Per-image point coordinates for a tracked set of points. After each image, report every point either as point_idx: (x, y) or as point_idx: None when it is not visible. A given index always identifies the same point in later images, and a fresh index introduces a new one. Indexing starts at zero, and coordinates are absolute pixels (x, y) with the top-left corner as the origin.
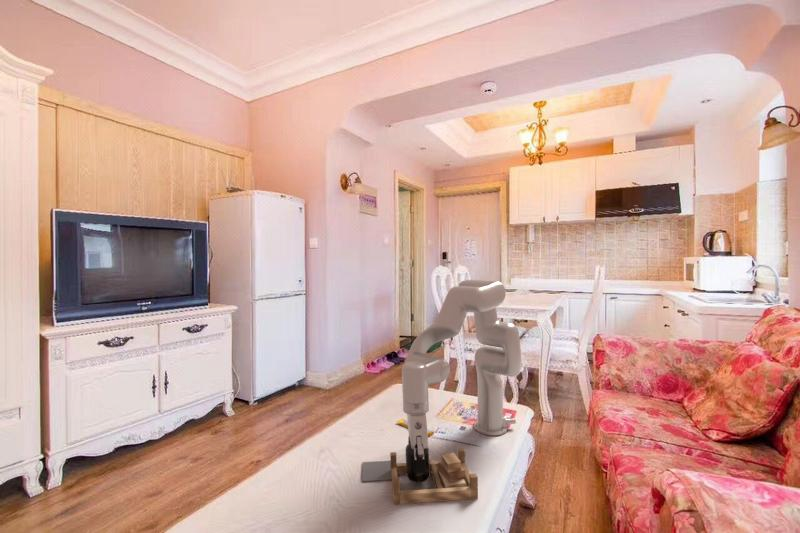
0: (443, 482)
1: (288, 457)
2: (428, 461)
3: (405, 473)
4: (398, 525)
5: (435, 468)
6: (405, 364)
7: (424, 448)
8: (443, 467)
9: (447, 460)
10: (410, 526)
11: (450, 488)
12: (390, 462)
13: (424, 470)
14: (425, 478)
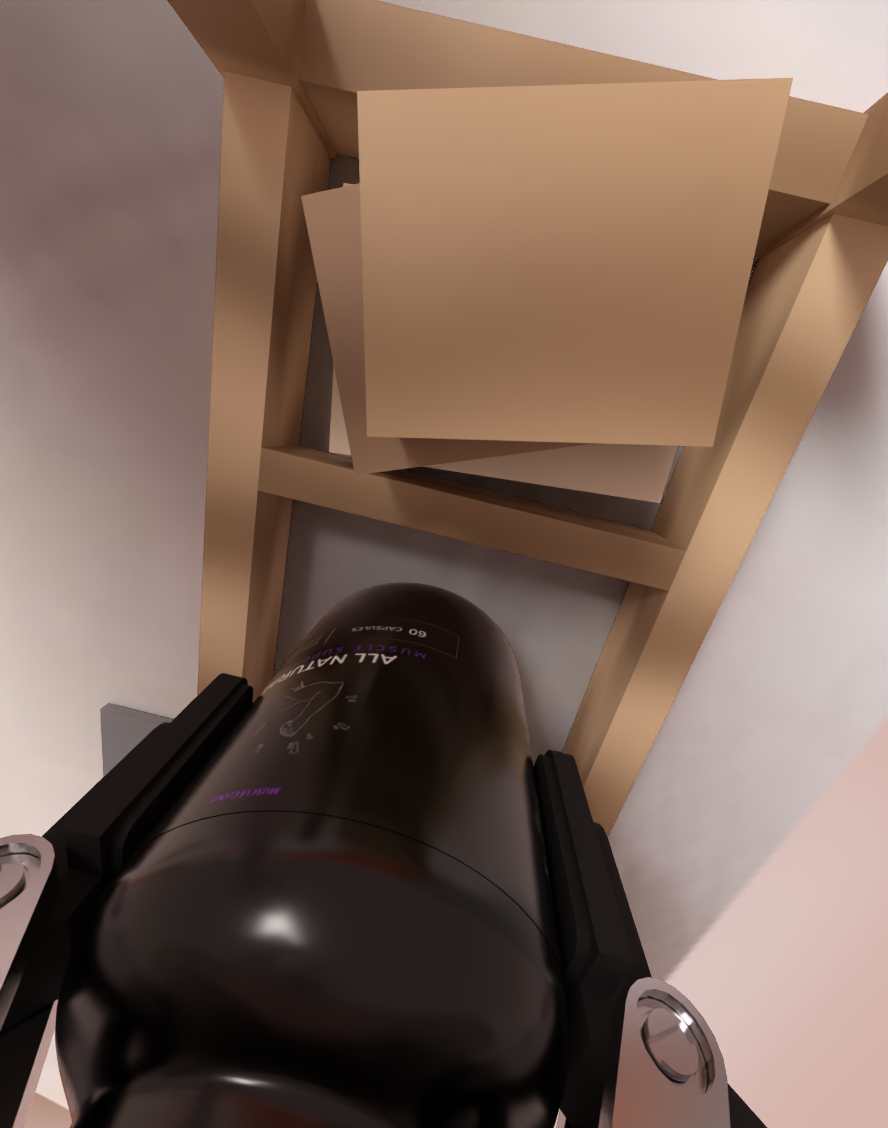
0: (584, 490)
1: (37, 1090)
2: (482, 716)
3: (271, 676)
4: (748, 871)
5: (347, 478)
6: None
7: (484, 1084)
8: (505, 453)
9: (592, 401)
10: (797, 824)
11: (734, 474)
12: (126, 733)
13: (571, 766)
14: (517, 666)
